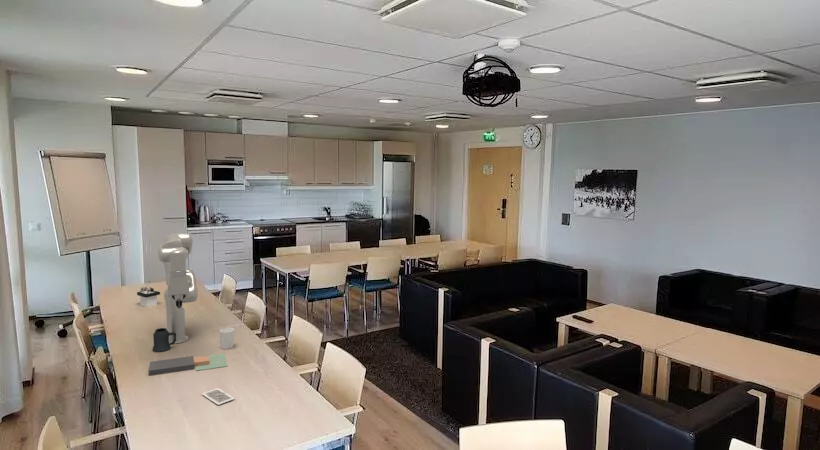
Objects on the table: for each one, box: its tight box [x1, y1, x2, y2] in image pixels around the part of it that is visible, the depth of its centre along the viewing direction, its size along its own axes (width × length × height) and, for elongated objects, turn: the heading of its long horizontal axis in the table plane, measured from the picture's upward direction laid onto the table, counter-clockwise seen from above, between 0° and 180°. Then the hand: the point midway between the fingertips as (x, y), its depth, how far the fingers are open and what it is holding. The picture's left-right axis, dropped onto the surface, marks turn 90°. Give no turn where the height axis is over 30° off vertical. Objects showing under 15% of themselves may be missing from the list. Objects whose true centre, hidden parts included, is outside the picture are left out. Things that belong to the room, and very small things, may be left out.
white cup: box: [219, 327, 235, 350], centre depth 270 cm, size 8×8×10 cm
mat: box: [194, 353, 228, 372], centre depth 248 cm, size 18×15×1 cm
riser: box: [148, 355, 195, 376], centre depth 240 cm, size 12×20×2 cm, turn 116°
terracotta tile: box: [193, 355, 209, 368], centre depth 246 cm, size 7×7×2 cm
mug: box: [151, 327, 176, 353], centre depth 265 cm, size 12×9×11 cm
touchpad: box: [201, 387, 236, 405], centre depth 210 cm, size 8×15×2 cm, turn 50°
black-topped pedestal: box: [136, 286, 161, 308], centre depth 349 cm, size 28×26×13 cm
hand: (179, 307), depth 252 cm, fingers closed
